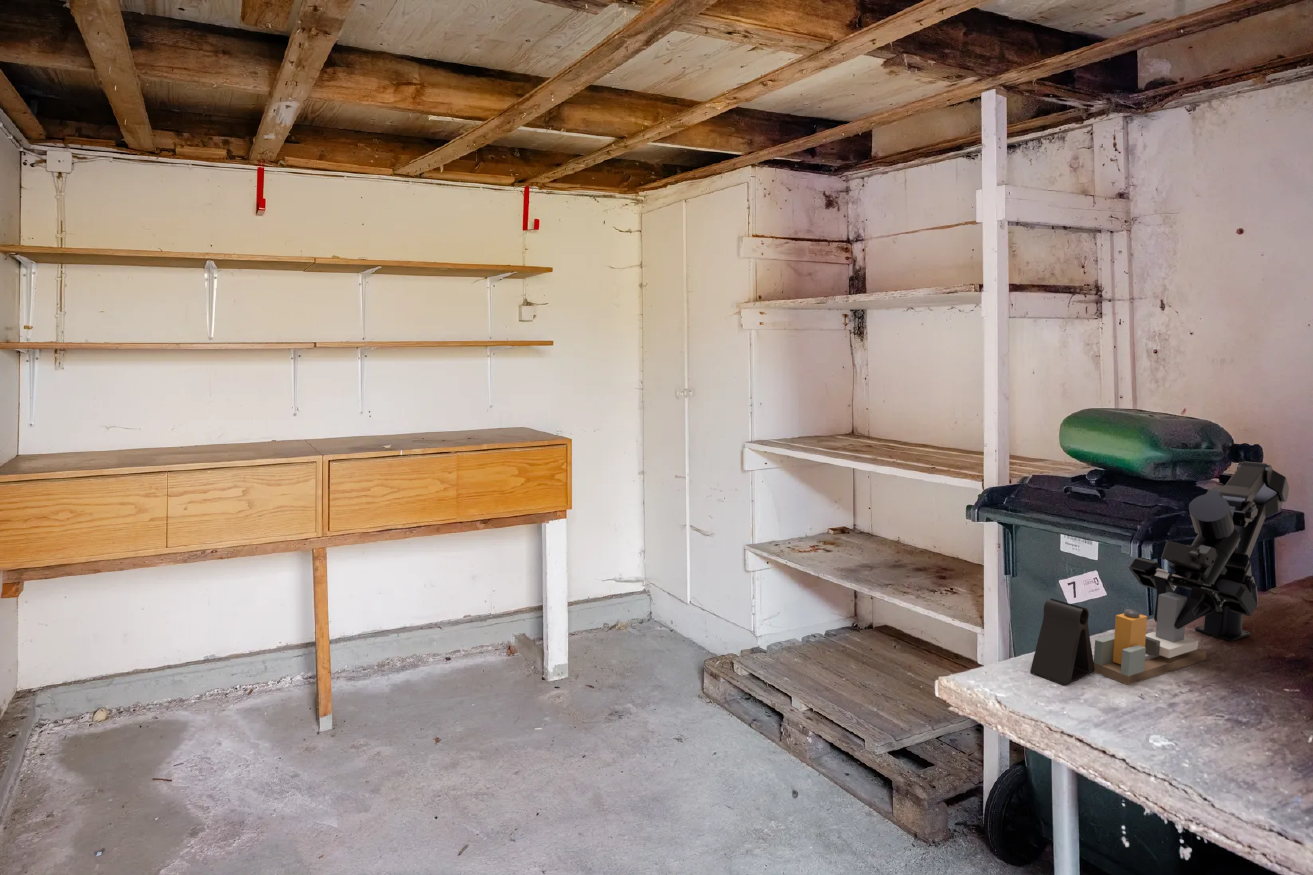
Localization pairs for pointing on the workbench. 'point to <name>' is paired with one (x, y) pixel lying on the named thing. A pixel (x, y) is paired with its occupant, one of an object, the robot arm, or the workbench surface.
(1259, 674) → the workbench surface
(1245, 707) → the workbench surface
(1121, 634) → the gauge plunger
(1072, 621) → the phone stand
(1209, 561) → the robot arm
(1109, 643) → the end housing
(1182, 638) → the carriage
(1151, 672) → the rail bed
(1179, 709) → the workbench surface
